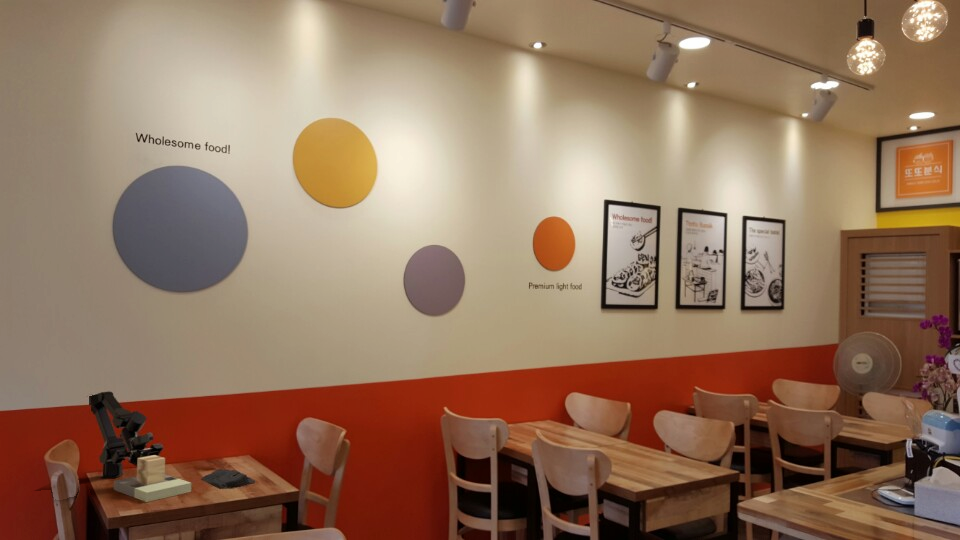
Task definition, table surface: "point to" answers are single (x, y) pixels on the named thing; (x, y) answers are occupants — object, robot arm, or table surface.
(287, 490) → the table surface
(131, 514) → the table surface
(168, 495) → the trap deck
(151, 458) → the maple block
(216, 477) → the dark slate chunk
